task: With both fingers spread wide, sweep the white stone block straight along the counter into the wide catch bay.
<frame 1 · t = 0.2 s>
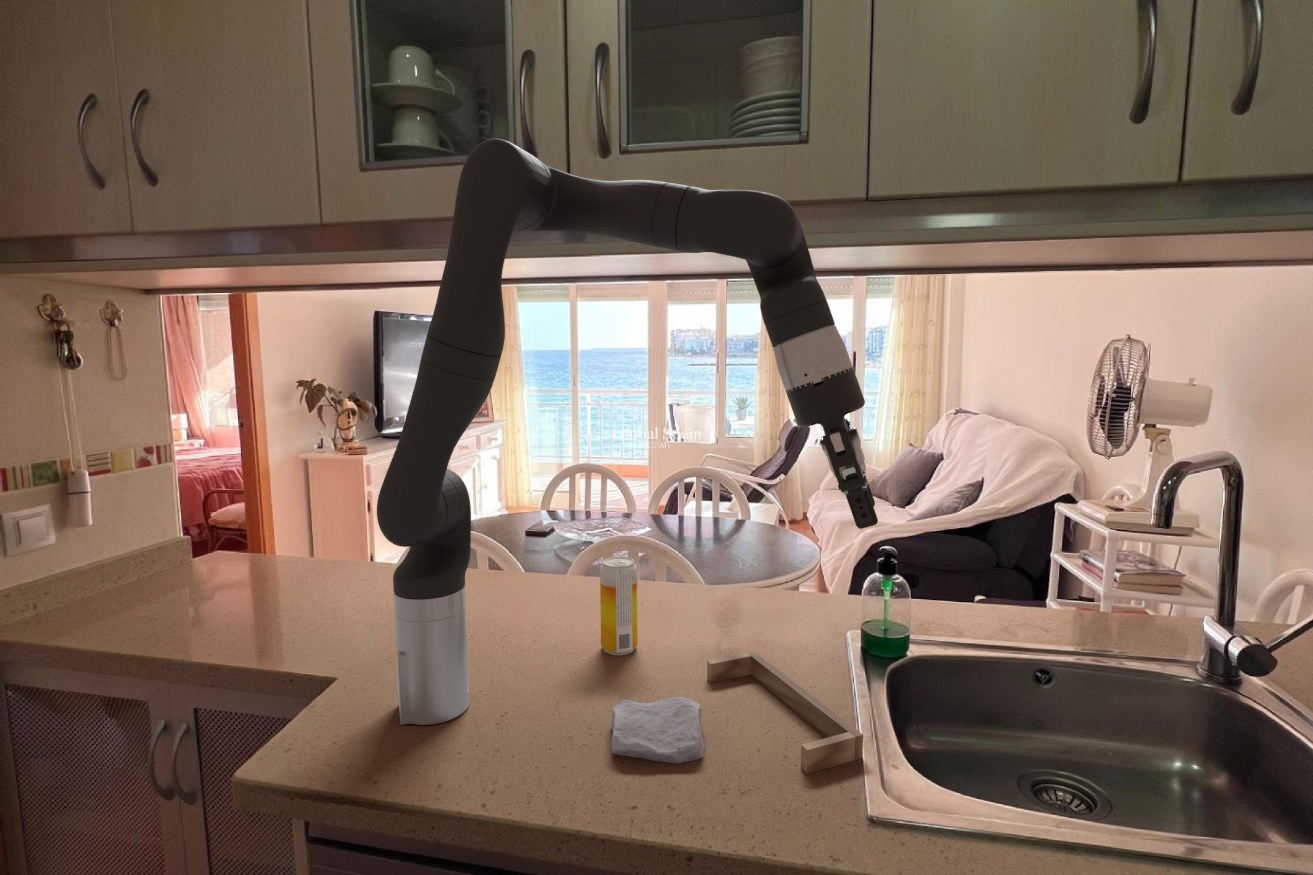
hand: (867, 516, 73), 31 cm above the worktop, tool tilted 20°, fingers open, 8 cm apart
catch bay: (747, 721, 90), on the worktop
beer can: (619, 649, 112), on the worktop
stone block: (657, 746, 85), on the worktop
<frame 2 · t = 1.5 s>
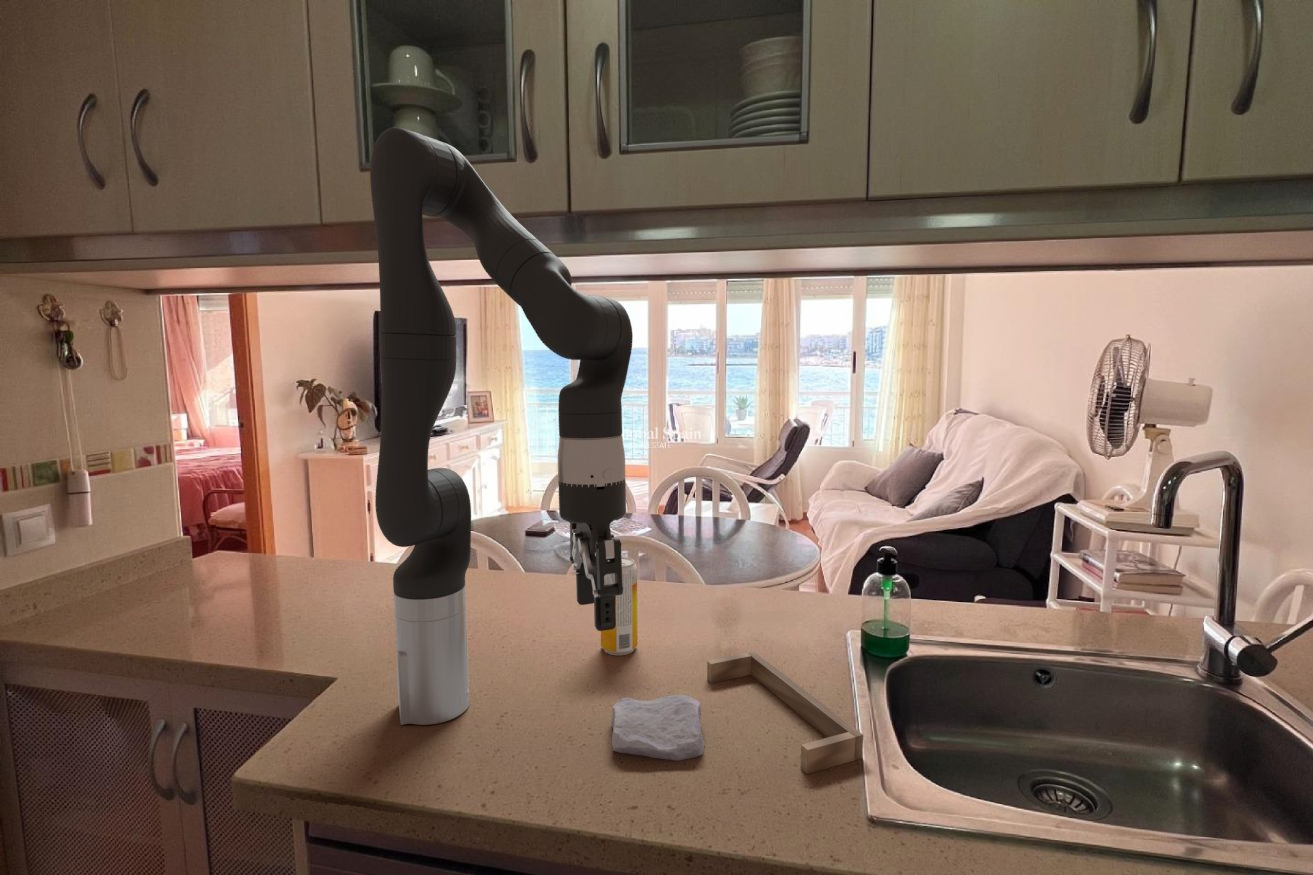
hand: (595, 615, 77), 19 cm above the worktop, tool pointing down, fingers open, 8 cm apart
nothing on the worktop moved.
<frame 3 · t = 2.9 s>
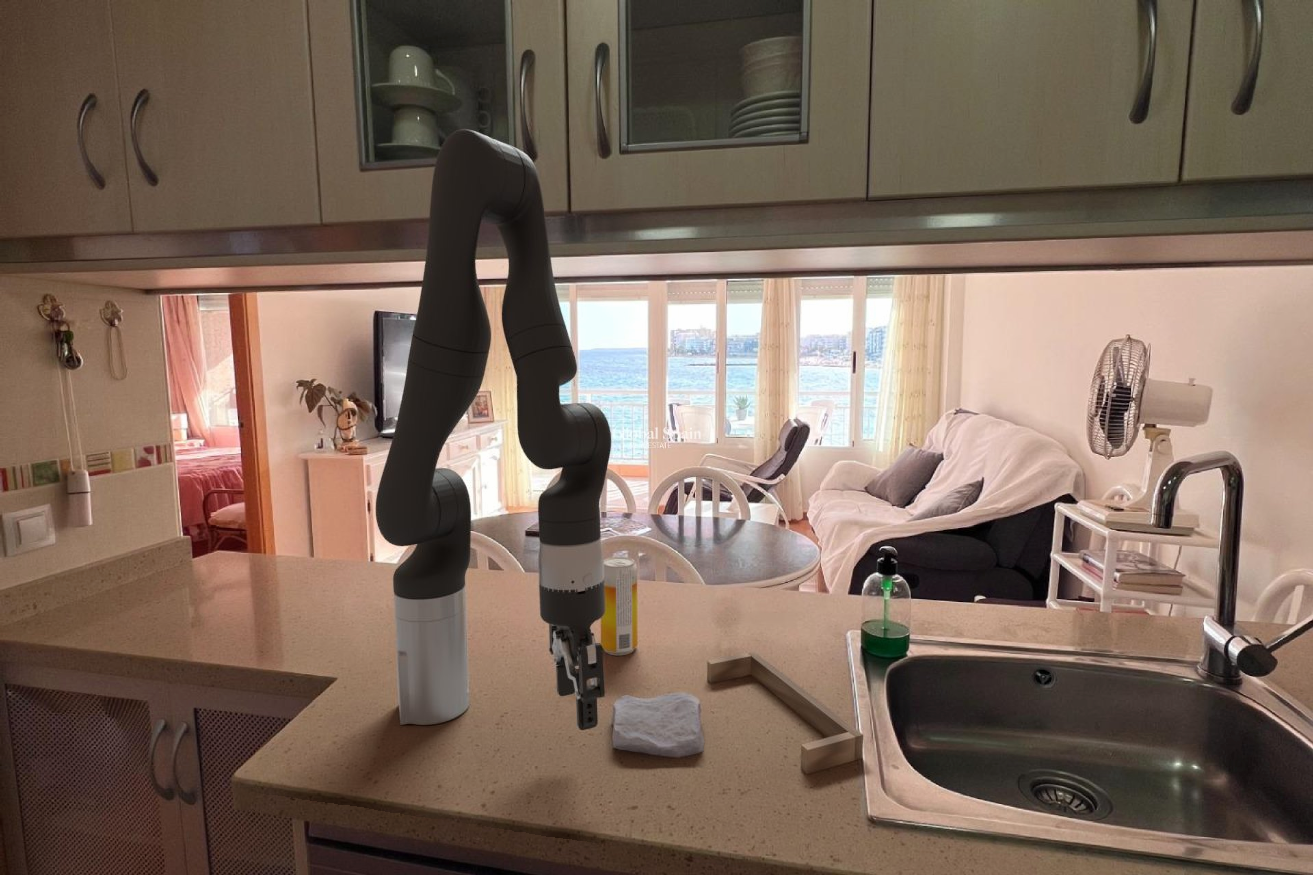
hand: (576, 709, 79), 7 cm above the worktop, tool pointing down, fingers open, 8 cm apart
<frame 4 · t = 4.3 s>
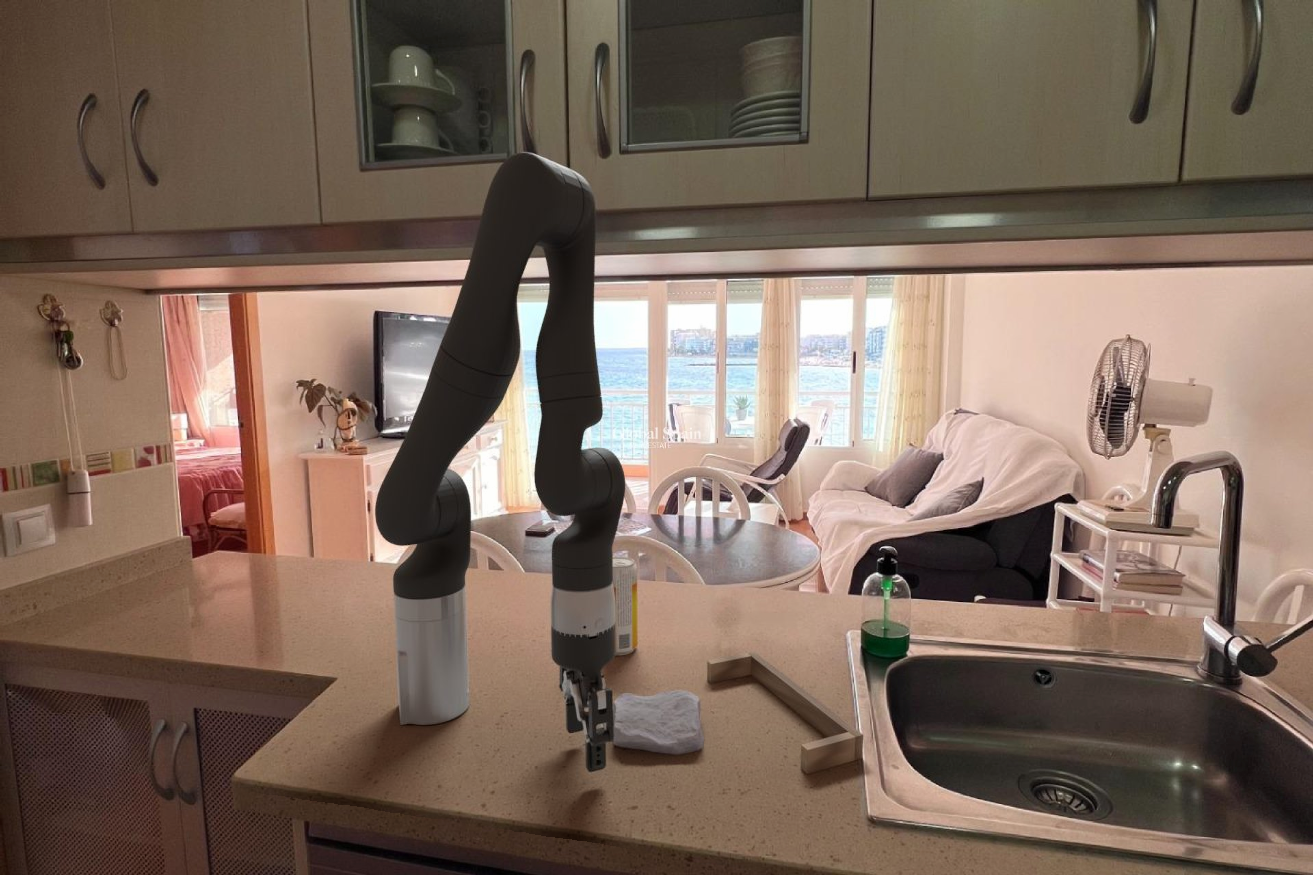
hand: (585, 749, 81), 2 cm above the worktop, tool pointing down, fingers open, 8 cm apart
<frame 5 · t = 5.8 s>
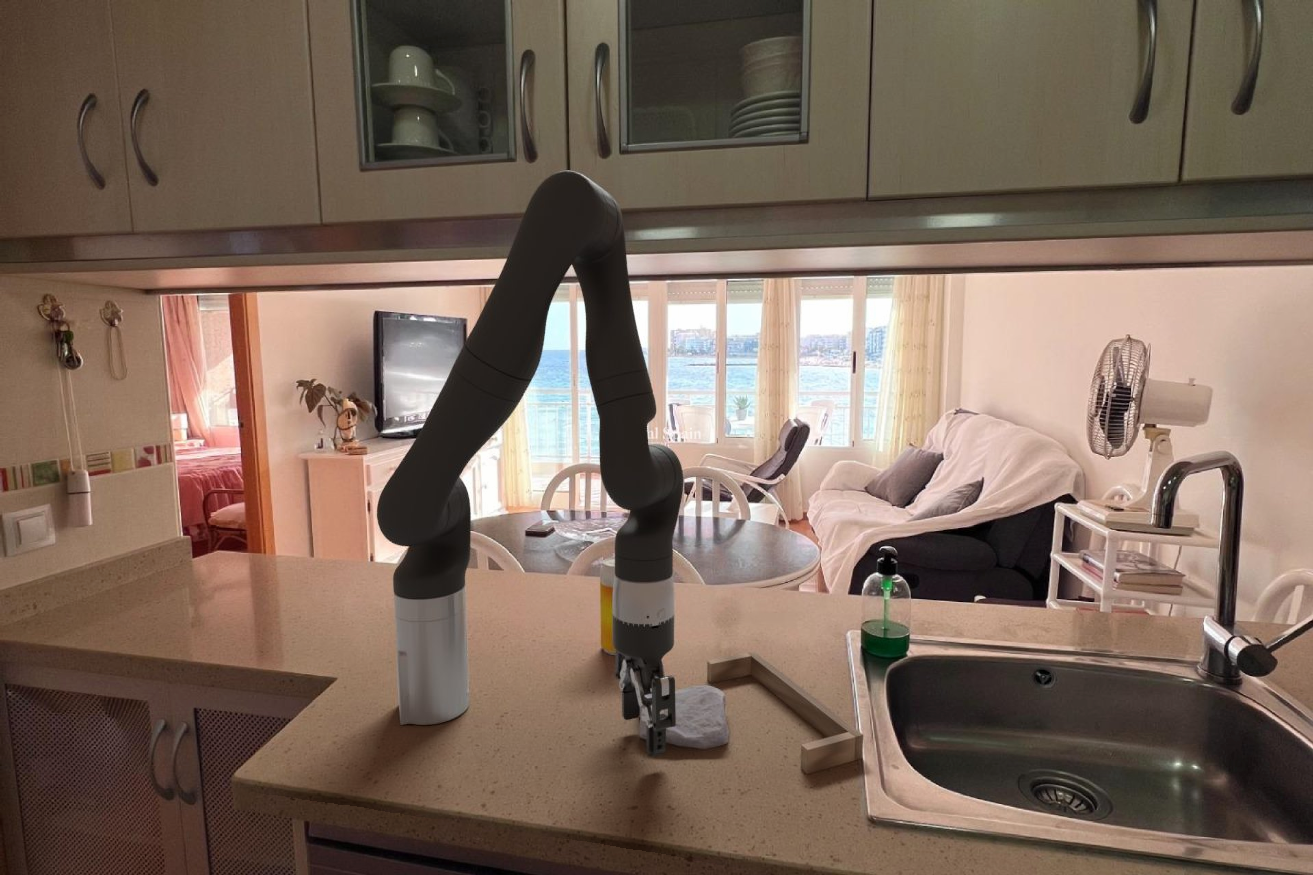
hand: (642, 734, 84), 2 cm above the worktop, tool pointing down, fingers open, 8 cm apart
stone block: (683, 732, 88), on the worktop, touching gripper
everything else where it was.
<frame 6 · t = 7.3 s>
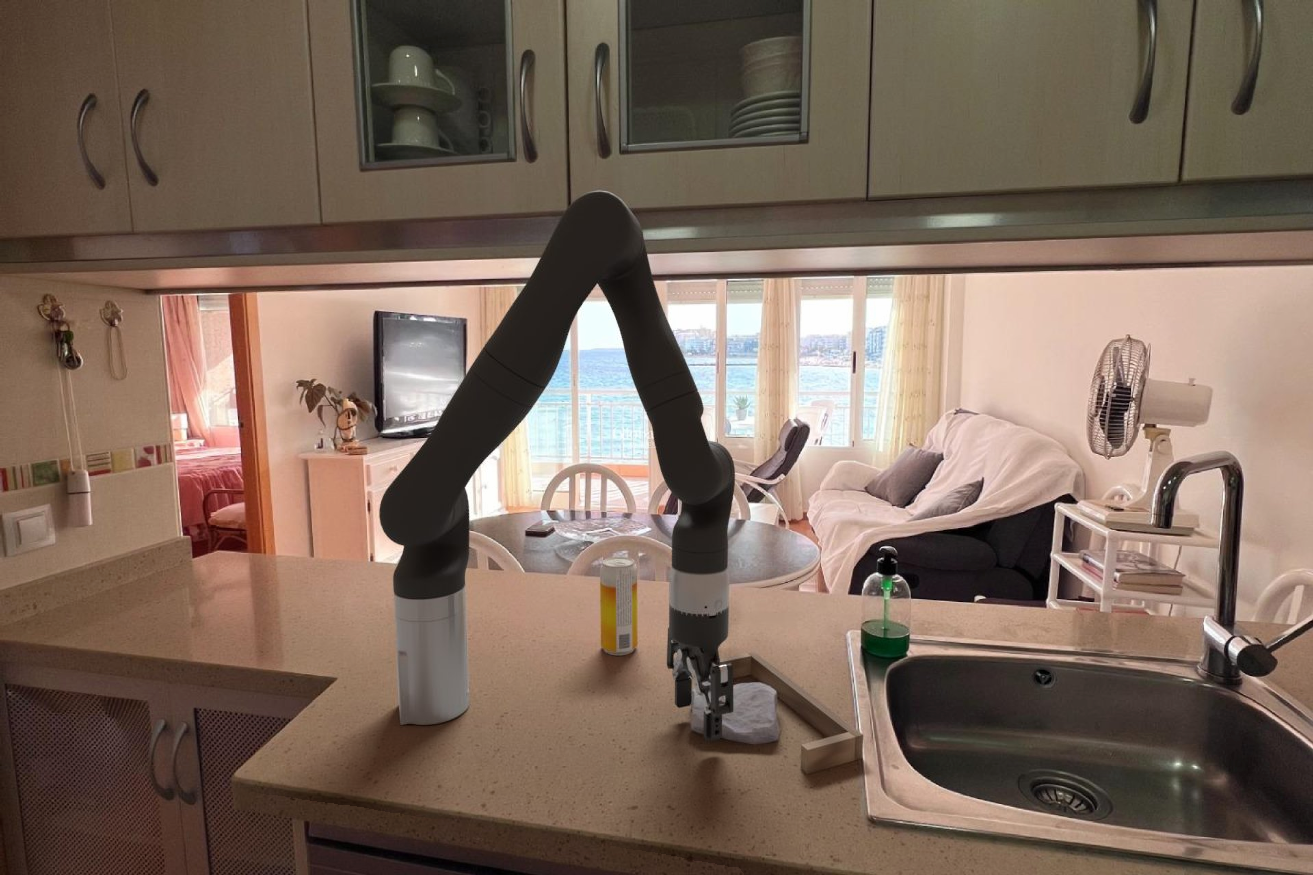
hand: (697, 721, 87), 2 cm above the worktop, tool pointing down, fingers open, 8 cm apart
stone block: (734, 727, 89), on the worktop, touching gripper
everything else where it was.
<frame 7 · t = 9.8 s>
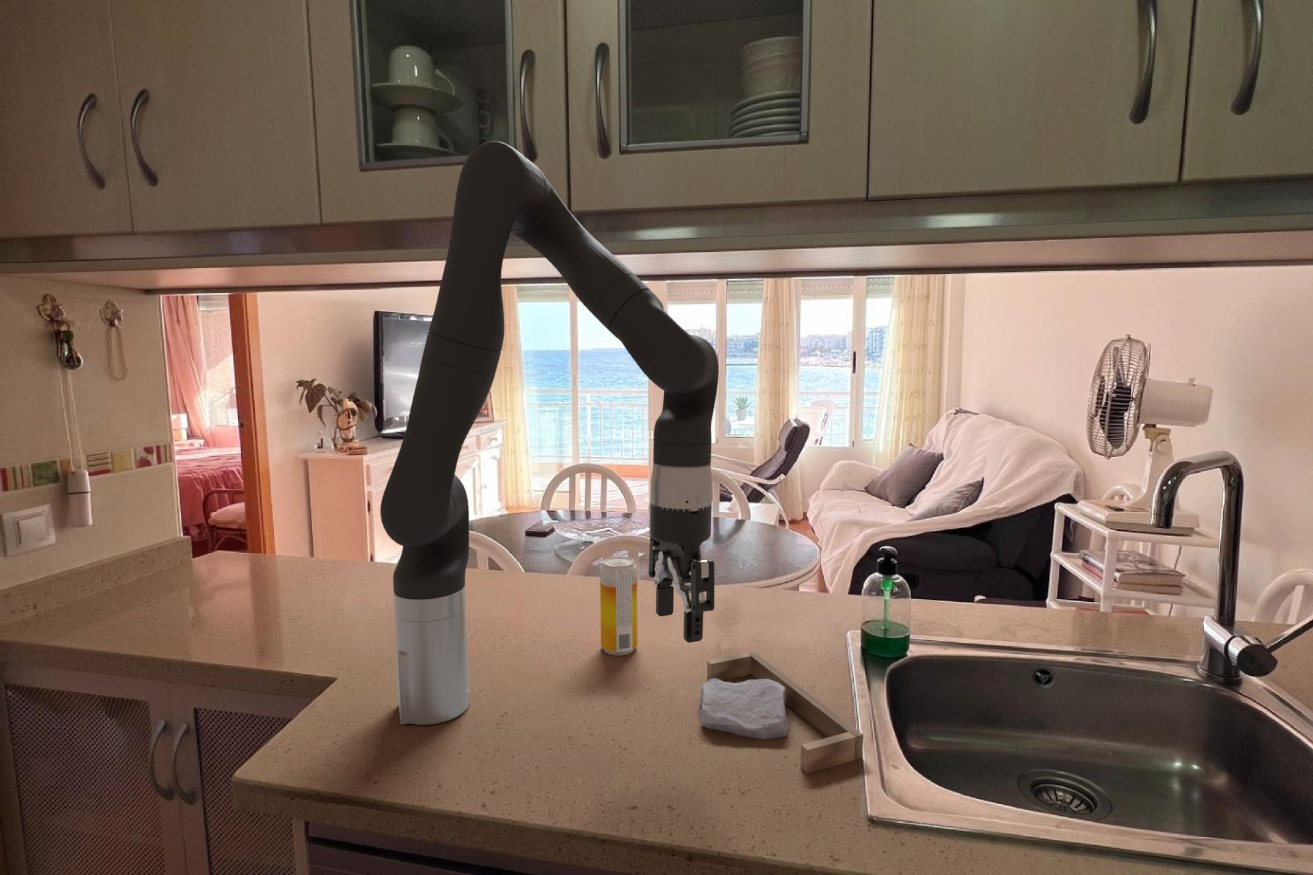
hand: (678, 627, 84), 15 cm above the worktop, tool pointing down, fingers open, 8 cm apart
stone block: (743, 723, 90), on the worktop
everything else where it was.
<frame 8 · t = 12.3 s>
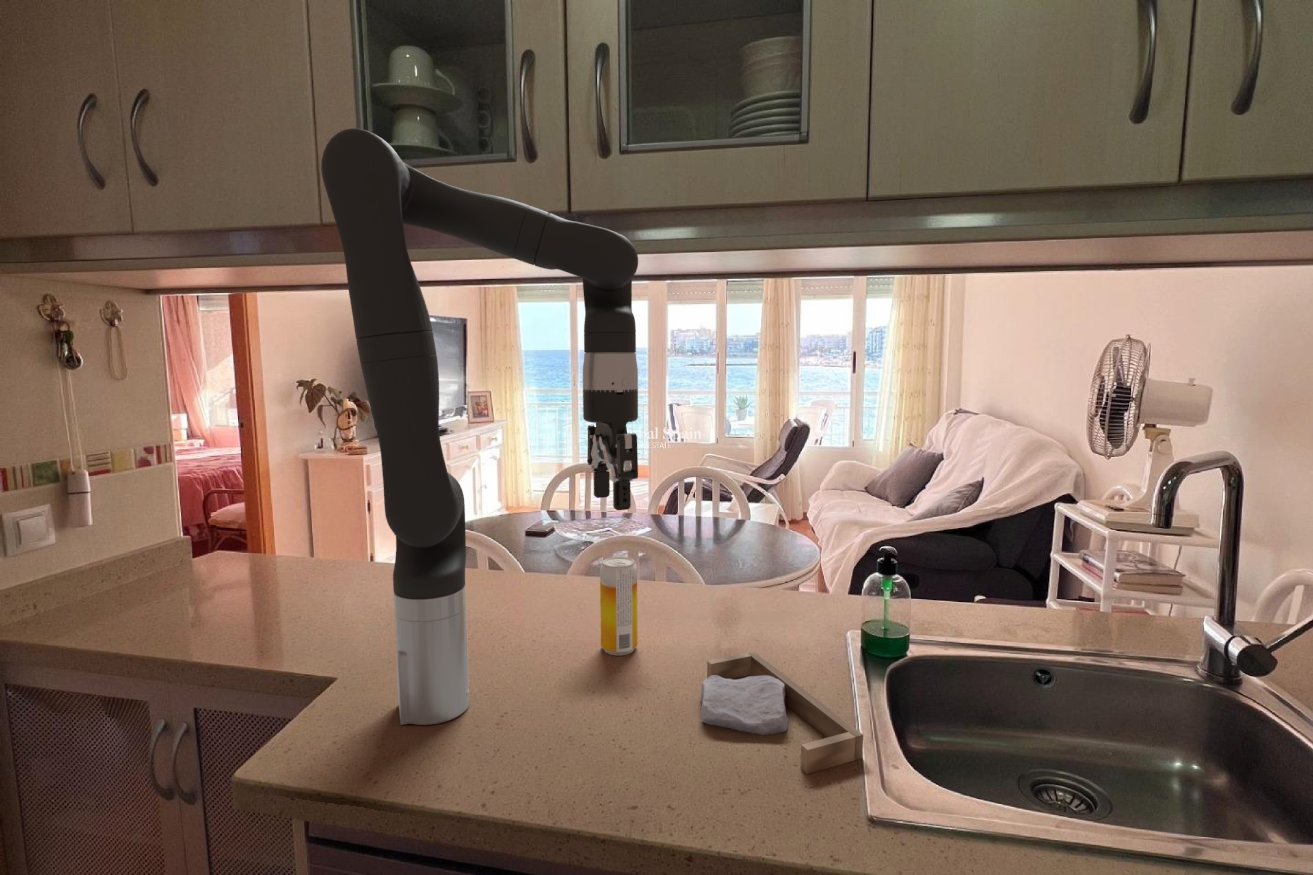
hand: (611, 503, 94), 28 cm above the worktop, tool pointing down, fingers open, 8 cm apart
stone block: (743, 719, 91), on the worktop
everything else where it was.
at the end: stone block inside the target area on the catch bay (1.9 cm from its centre), point -0.5 cm above the catch bay's base; stone block tilted 0° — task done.
